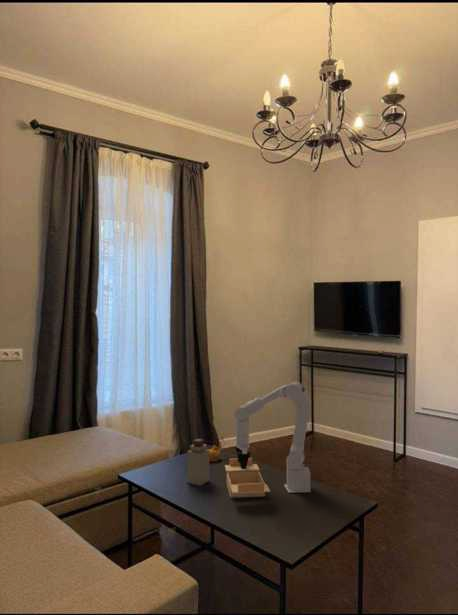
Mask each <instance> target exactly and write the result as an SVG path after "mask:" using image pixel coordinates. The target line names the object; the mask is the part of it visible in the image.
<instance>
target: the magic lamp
mask: <svg viewBox="0 0 458 615" xmlns="http://www.w3.org/2000/svg"><path fill="white" fill-rule="evenodd" d="M224 437H225V435H222V436H221V437H220V442H219V446H216V444H213V446H212V448H210V449H209V448H208V450H209V462H217V461H218V460H219V459H218V458H217V457H218V456H219V455H220V454H221V449H223V448H224V447H225V445H226V442H225V440H224V439H225V438H224ZM222 441H223V443H224V445H223V446H222V447H221V445H222ZM220 447H221V448H220Z"/></svg>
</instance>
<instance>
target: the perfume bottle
mask: <svg viewBox="0 0 458 615" xmlns="http://www.w3.org/2000/svg"><path fill="white" fill-rule="evenodd" d="M204 441H205V440H204V439H202V438H196V439H193V441H192V442H193V444H191V445H189V448H190V449H189V450H187V462H186V463H187V466H186V467H187V473H186V476H187V480H186V483H188V484H191V485H195V486H199V487H200V486H203V485H205V484H206V483H208V482H209V481H210V461H209V458H210V456H209V450H208V449H209V448H208V449H207V446H208V444H205V442H204Z"/></svg>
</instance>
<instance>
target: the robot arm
mask: <svg viewBox="0 0 458 615" xmlns="http://www.w3.org/2000/svg"><path fill="white" fill-rule="evenodd" d="M279 398H283V399H285V398H287V399H288V400H290V401H291V402H292V403H294V404H295V406H296V407H297V412H296V413H297V414H296V418H295V420H296V421H295V424H294V430H293V437H292V442H291V447H290V450H289V454H288V456H286V459H285V464H286V483H285V484H284V485H283V486H284V488H285V489H286V491H287V493H288V494H290V493H291V494H292V493H295V494H297V493H311V491H312V490H311V471H310V468H309V467H308V466H305V465H304V463H303V462H304V460H305V459H306V458H305V457H306V456H305V451H304V449H305V440H306V439H305V438H306V433H307V428H308V421H309V416H310V410H311V401H310V398H309V397H308V393H307V390H306V386H304V385H303V384H302V383H301V382H300V381H296V380H295V381H291V382H290V384H289V383H288V384H285V385H281V386H280V387H278V388H276V389H275V390H273V391H271V392H269V393H268V394H266V395H265V396H263V397H259V396H256V397H252V398H251V400H249V401H248V402H246V403H245V402H244V403H243V404H242V405H241V406H239V407H237V408H236V409H235V410H234V414H233V415H234V417H235V443H233V444H232V446H233V447H234V449H235V450H236V456H237V458H238V461H239V463H240V466H241V469H246V467H247V462H248V459H249V458H251V457H250V456H251V455H252V454H251V452H249V451H248V449H249V447H250V416H251V417H252V416H254V415H255V414H257V413H259V412H261V411H263V410H264V409H265V406H266V405H267V404H269V403H271V402H274V401H275V400H277V399H279Z"/></svg>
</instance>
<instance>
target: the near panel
mask: <svg viewBox="0 0 458 615" xmlns="http://www.w3.org/2000/svg"><path fill="white" fill-rule="evenodd" d="M264 483H265V482H264ZM264 483H246V484H238V485H230V487H231V490H232V493H255V492H265V493H270V492H271V490H270V487H269V486H268V484H267V483H265V484H264Z"/></svg>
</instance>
